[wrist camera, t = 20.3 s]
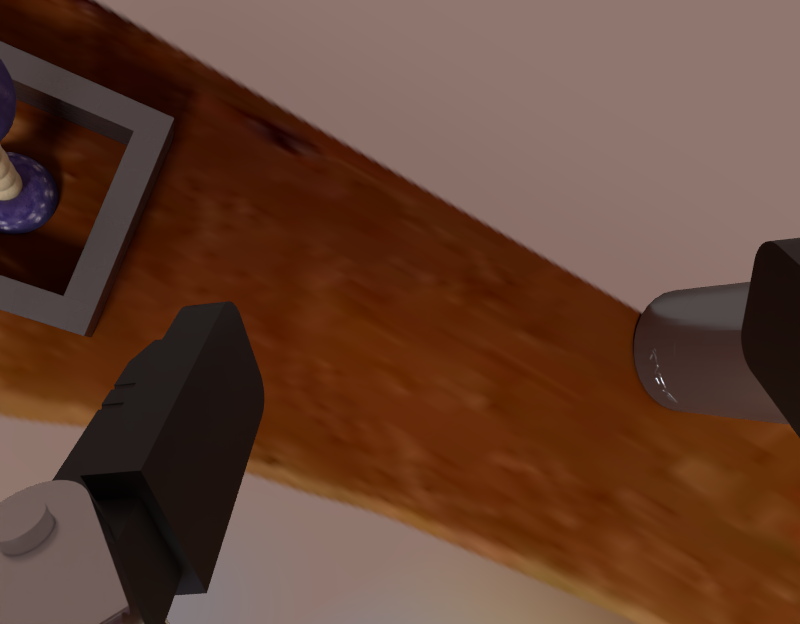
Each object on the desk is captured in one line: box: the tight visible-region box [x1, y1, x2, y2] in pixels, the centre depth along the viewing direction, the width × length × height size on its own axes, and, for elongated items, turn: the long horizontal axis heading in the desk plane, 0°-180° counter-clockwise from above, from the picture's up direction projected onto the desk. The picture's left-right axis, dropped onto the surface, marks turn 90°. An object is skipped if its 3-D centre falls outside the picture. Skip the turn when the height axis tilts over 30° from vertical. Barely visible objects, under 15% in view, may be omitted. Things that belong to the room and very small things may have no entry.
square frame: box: [0, 41, 174, 337], centre depth 30 cm, size 12×12×3 cm
